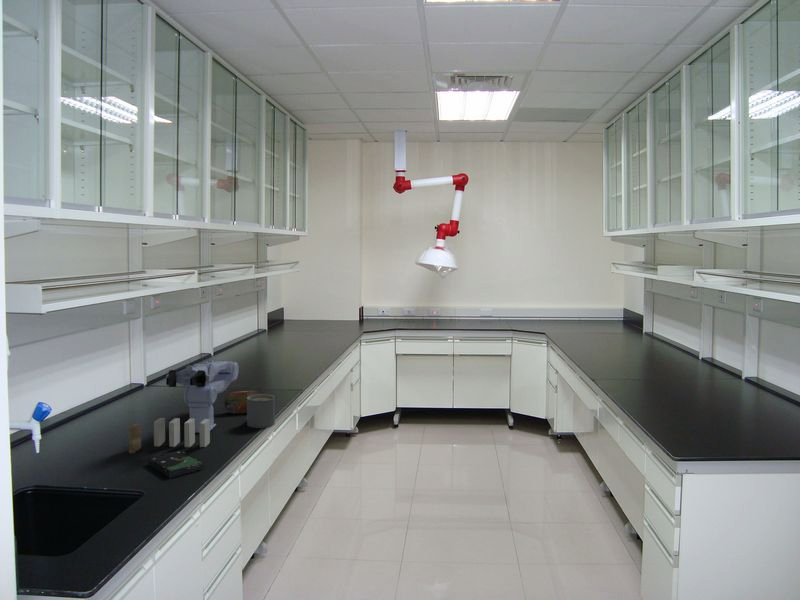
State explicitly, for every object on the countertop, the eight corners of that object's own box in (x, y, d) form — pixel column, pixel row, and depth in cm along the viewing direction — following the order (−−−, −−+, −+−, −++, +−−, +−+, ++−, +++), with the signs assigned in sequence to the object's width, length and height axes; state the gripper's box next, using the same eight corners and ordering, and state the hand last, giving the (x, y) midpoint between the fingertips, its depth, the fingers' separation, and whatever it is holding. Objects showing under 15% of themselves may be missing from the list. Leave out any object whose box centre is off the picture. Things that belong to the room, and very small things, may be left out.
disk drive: (147, 466, 183) (170, 480, 173) (147, 457, 183) (169, 470, 172) (180, 458, 190) (204, 470, 180) (180, 449, 190) (203, 461, 180)
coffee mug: (273, 427, 221) (273, 400, 221) (245, 428, 220) (245, 401, 219) (275, 417, 235) (276, 391, 234) (249, 417, 233) (249, 392, 232)
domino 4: (199, 447, 199) (199, 423, 198) (205, 442, 204) (204, 419, 203) (204, 447, 199) (204, 423, 198) (209, 442, 204) (209, 419, 203)
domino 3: (184, 447, 199) (184, 423, 198) (190, 442, 204) (189, 418, 203) (189, 447, 199) (189, 423, 198) (194, 442, 204) (194, 418, 203)
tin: (224, 414, 237) (224, 393, 236) (224, 412, 240) (223, 391, 239) (264, 411, 242) (264, 390, 242) (262, 409, 245) (262, 388, 244)
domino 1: (154, 446, 199) (153, 422, 198) (160, 441, 204) (160, 417, 203) (159, 446, 199) (158, 422, 198) (165, 441, 204) (164, 418, 203)
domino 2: (169, 446, 199) (169, 422, 198) (175, 441, 204) (174, 418, 203) (174, 446, 199) (173, 422, 198) (180, 441, 204) (179, 418, 203)
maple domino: (129, 453, 192) (128, 428, 191) (136, 447, 197) (135, 423, 196) (134, 453, 192) (133, 428, 191) (141, 448, 197) (140, 423, 196)
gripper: (173, 363, 210) (156, 369, 196) (215, 364, 210) (201, 369, 196) (173, 384, 210) (156, 390, 197) (215, 384, 210) (201, 391, 196)
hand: (179, 381), depth 196 cm, fingers open, 7 cm apart
